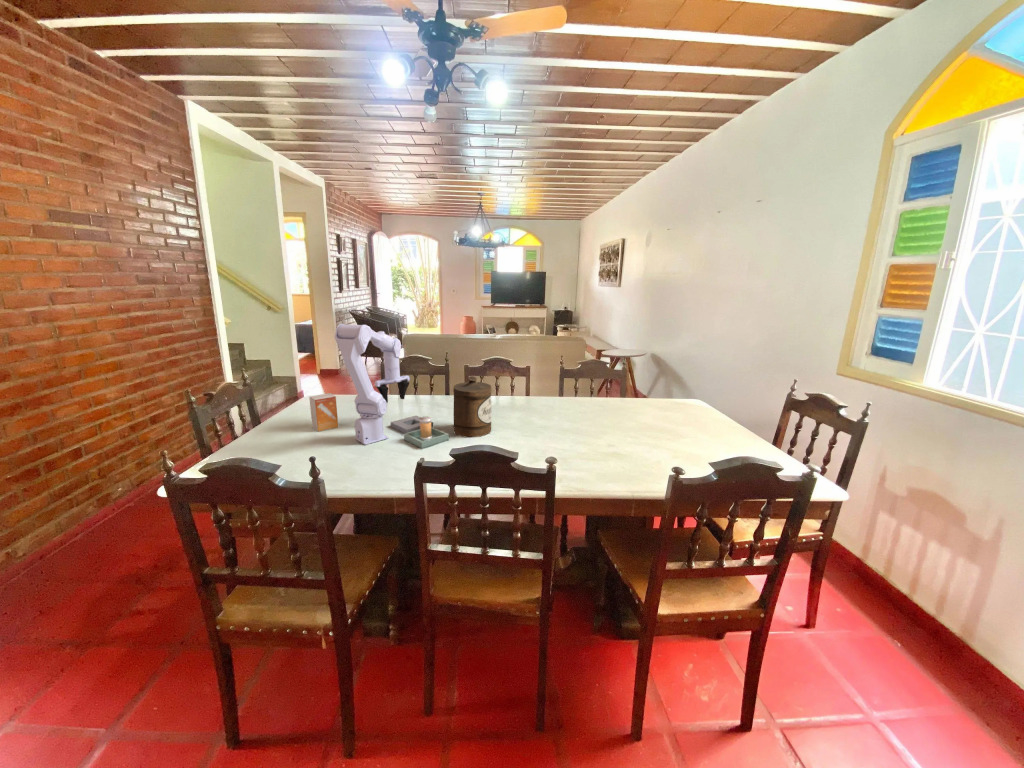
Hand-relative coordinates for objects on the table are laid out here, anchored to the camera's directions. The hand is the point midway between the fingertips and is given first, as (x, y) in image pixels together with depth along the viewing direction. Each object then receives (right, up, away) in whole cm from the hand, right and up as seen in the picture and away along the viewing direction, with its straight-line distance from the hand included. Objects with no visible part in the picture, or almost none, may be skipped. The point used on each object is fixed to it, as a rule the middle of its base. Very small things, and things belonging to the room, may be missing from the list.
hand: (394, 400), depth 166 cm
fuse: (+16, -14, -14) cm, 25 cm away
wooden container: (+32, -12, -3) cm, 34 cm away
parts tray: (+16, -14, -14) cm, 26 cm away
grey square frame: (+7, -11, -1) cm, 13 cm away
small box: (-26, -11, -3) cm, 29 cm away
